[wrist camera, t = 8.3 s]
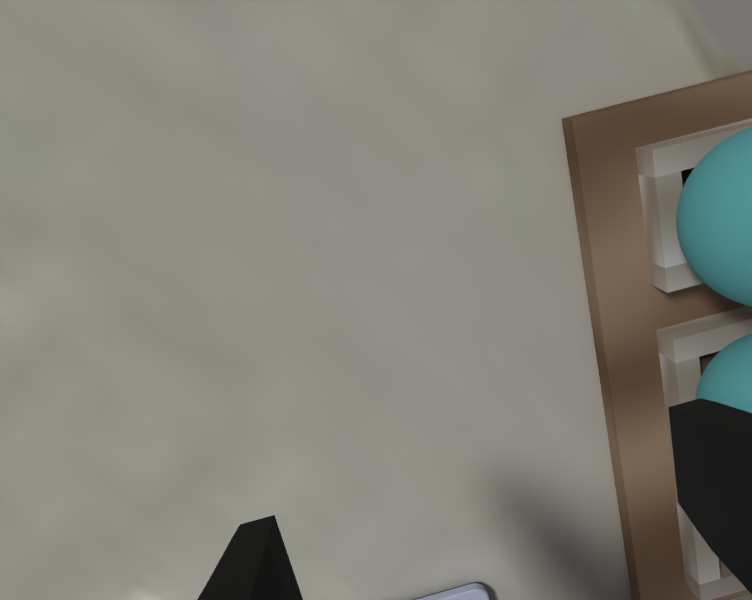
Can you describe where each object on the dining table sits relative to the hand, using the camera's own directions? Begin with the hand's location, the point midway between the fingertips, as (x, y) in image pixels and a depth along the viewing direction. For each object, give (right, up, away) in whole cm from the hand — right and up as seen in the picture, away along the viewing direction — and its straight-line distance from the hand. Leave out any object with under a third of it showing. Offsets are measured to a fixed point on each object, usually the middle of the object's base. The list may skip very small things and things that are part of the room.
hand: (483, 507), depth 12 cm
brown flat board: (+11, +2, +12) cm, 16 cm away
